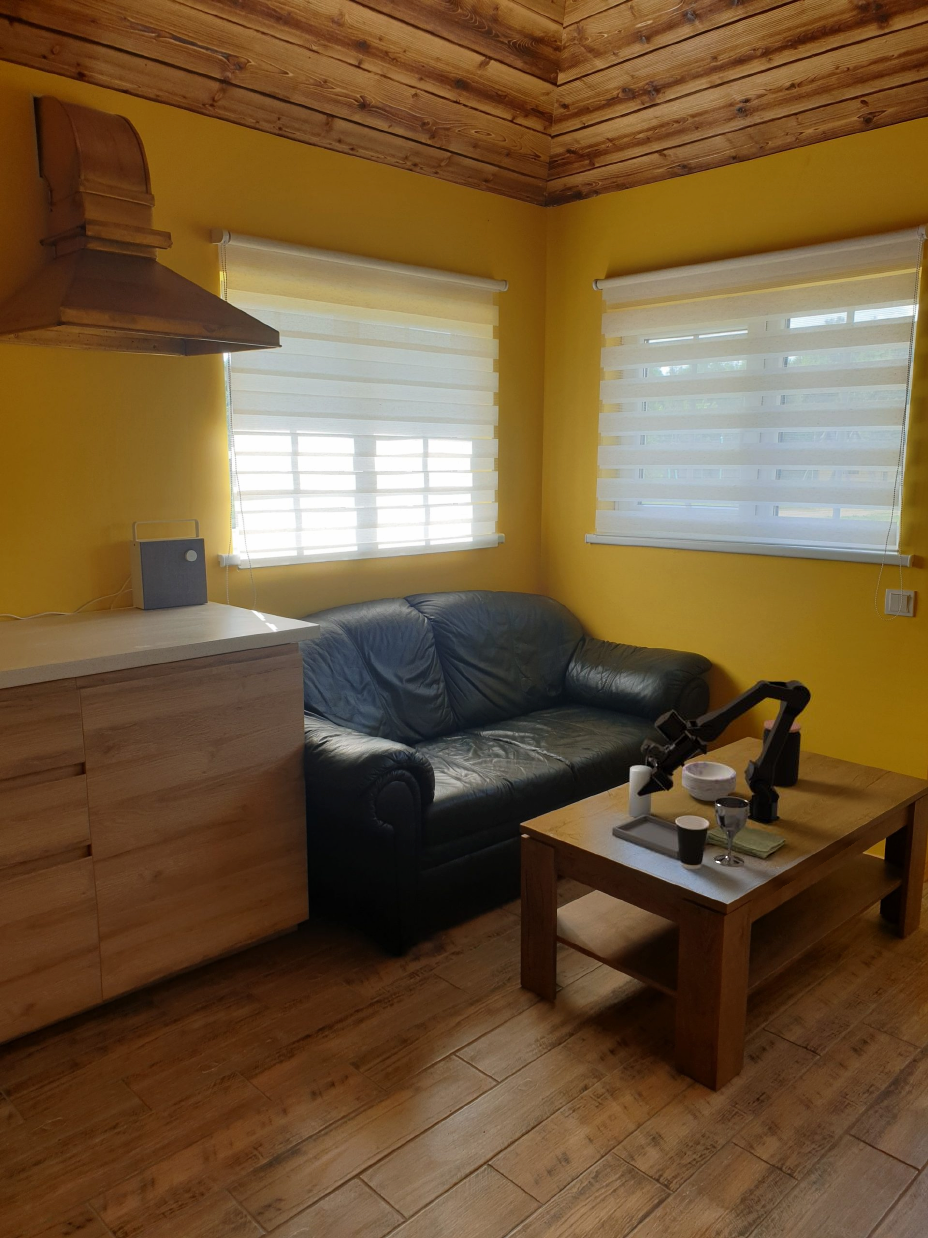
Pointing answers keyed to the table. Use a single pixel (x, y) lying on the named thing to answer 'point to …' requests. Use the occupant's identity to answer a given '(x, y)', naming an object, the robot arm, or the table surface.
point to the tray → (651, 834)
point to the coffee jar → (786, 756)
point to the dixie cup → (691, 840)
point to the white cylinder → (637, 780)
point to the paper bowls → (708, 780)
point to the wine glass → (731, 825)
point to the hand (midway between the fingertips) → (637, 789)
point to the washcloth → (748, 841)
